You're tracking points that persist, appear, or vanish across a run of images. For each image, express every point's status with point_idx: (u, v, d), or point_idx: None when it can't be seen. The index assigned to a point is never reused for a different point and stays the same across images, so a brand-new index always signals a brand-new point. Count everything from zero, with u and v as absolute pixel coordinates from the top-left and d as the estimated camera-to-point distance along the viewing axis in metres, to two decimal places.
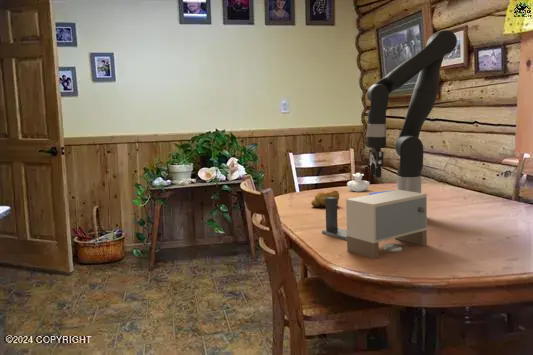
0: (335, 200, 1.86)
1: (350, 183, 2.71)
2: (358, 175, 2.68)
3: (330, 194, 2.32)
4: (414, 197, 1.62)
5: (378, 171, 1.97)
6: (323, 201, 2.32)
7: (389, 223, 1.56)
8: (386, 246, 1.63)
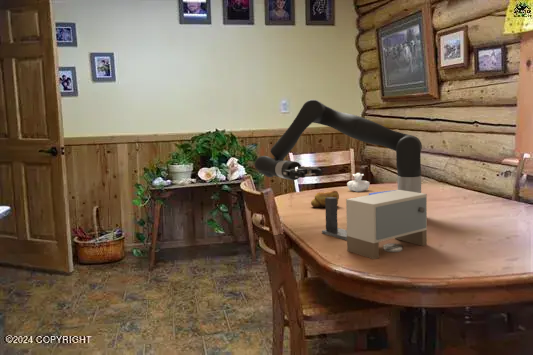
0: (335, 200, 1.86)
1: (350, 183, 2.71)
2: (358, 175, 2.68)
3: (330, 194, 2.32)
4: (414, 197, 1.62)
5: (298, 174, 1.93)
6: (323, 201, 2.32)
7: (389, 223, 1.56)
8: (386, 246, 1.63)
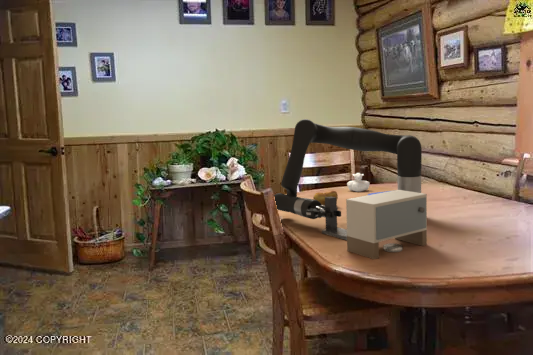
0: (335, 199, 1.86)
1: (350, 183, 2.71)
2: (358, 175, 2.68)
3: (328, 194, 2.31)
4: (414, 197, 1.62)
5: (326, 215, 1.86)
6: (321, 201, 2.31)
7: (389, 223, 1.56)
8: (386, 246, 1.63)
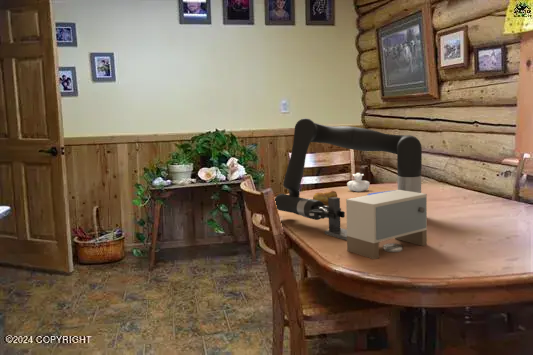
0: (338, 200, 1.85)
1: (350, 183, 2.71)
2: (358, 175, 2.68)
3: (328, 194, 2.31)
4: (414, 197, 1.62)
5: (329, 216, 1.84)
6: (321, 201, 2.31)
7: (389, 223, 1.56)
8: (386, 246, 1.63)
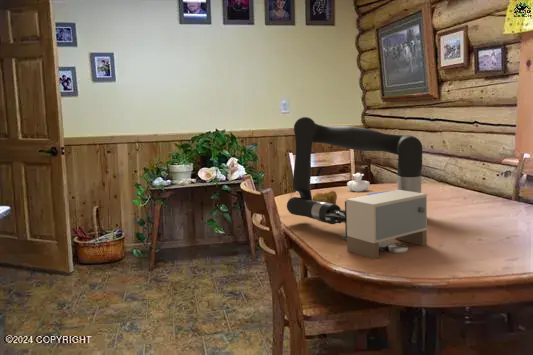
0: None
1: (350, 183, 2.71)
2: (358, 175, 2.68)
3: (327, 194, 2.31)
4: (414, 197, 1.62)
5: (346, 220, 1.77)
6: (320, 201, 2.31)
7: (389, 223, 1.56)
8: (391, 247, 1.61)
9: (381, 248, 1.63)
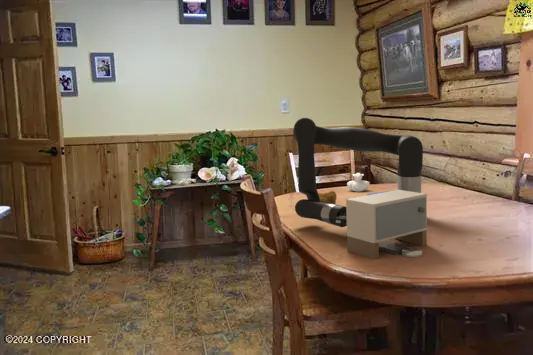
0: None
1: (350, 183, 2.71)
2: (358, 175, 2.68)
3: (327, 194, 2.31)
4: (414, 197, 1.62)
5: None
6: None
7: (389, 223, 1.56)
8: (405, 251, 1.57)
9: (394, 252, 1.58)
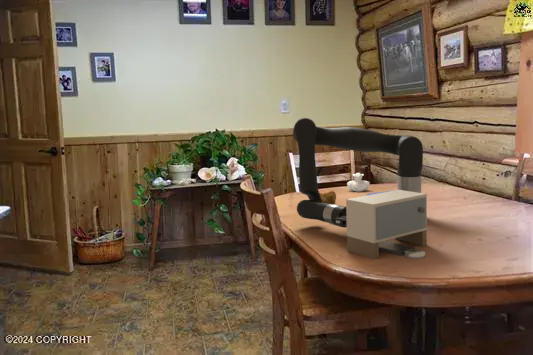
0: None
1: (350, 183, 2.71)
2: (358, 175, 2.68)
3: (327, 194, 2.31)
4: (414, 197, 1.62)
5: None
6: None
7: (389, 223, 1.56)
8: (408, 252, 1.56)
9: (397, 253, 1.57)
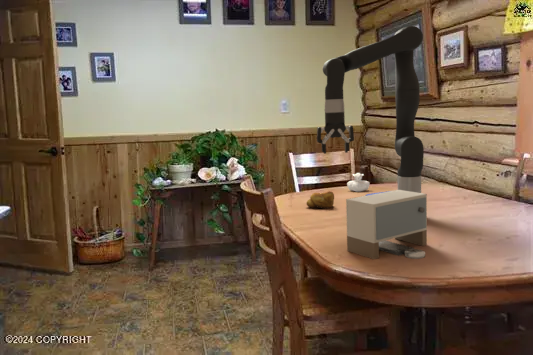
0: None
1: (350, 183, 2.71)
2: (358, 175, 2.68)
3: (324, 195, 2.31)
4: (414, 197, 1.62)
5: (322, 147, 1.98)
6: (317, 202, 2.31)
7: (389, 223, 1.56)
8: (408, 252, 1.56)
9: (397, 253, 1.58)
